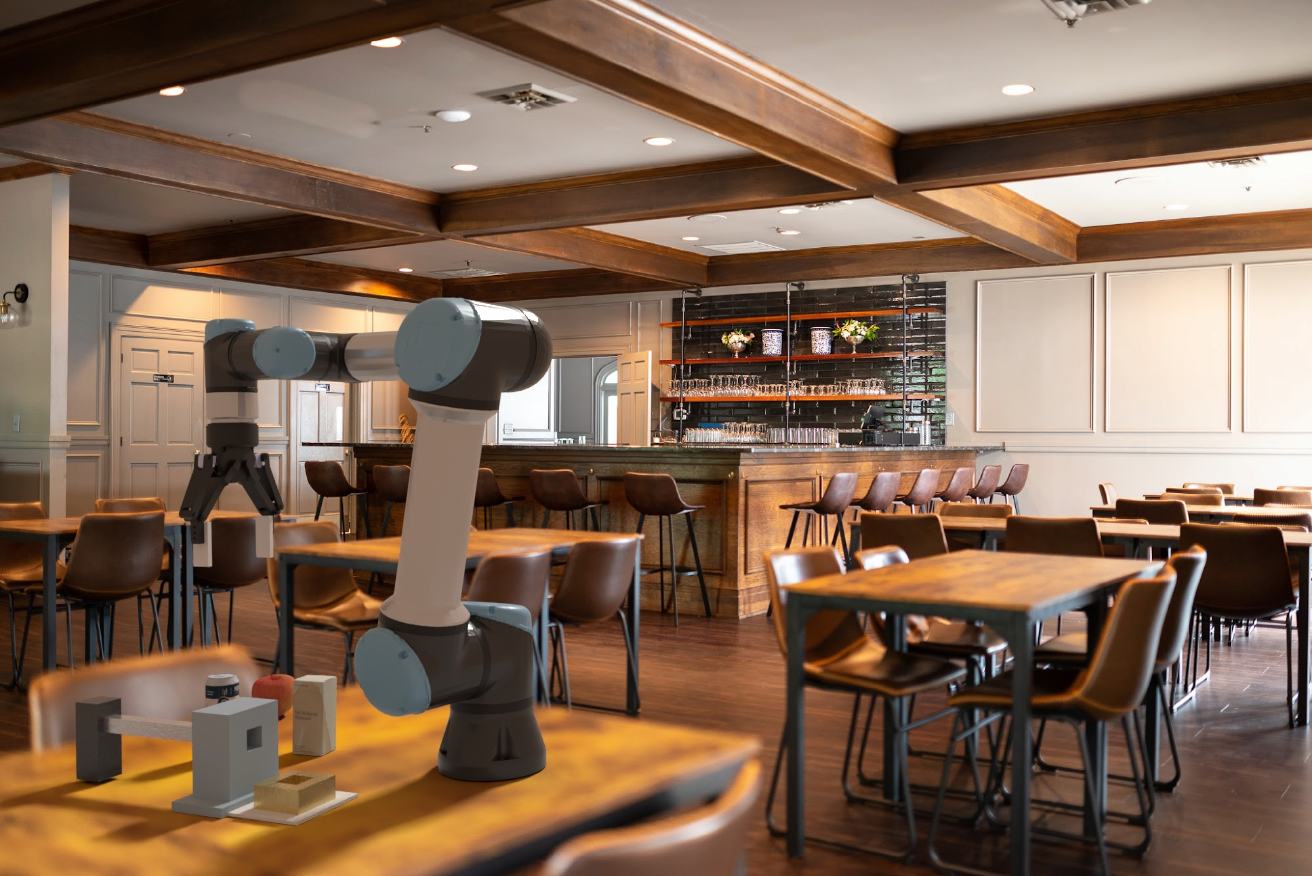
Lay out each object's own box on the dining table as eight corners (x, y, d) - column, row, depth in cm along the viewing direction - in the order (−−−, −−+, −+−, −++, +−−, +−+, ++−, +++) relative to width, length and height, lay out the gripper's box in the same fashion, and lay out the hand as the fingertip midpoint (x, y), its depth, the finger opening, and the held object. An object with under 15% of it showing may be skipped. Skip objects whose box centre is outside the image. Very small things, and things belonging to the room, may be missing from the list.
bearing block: (297, 786, 155) (296, 696, 155) (222, 818, 142) (220, 720, 142) (249, 780, 158) (248, 692, 158) (171, 811, 145) (170, 715, 145)
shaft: (236, 788, 153) (235, 708, 153) (214, 797, 149) (213, 715, 149) (100, 771, 162) (99, 695, 162) (76, 779, 158) (75, 702, 158)
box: (291, 754, 171) (290, 679, 171) (306, 747, 175) (306, 673, 175) (323, 756, 170) (322, 681, 170) (338, 749, 174) (337, 675, 174)
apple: (302, 710, 199) (301, 664, 199) (291, 721, 192) (290, 672, 192) (258, 712, 199) (258, 665, 199) (246, 722, 191) (245, 673, 191)
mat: (358, 796, 151) (358, 793, 151) (296, 825, 139) (296, 822, 139) (289, 788, 155) (289, 785, 155) (224, 815, 144) (224, 812, 144)
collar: (292, 792, 151) (335, 798, 148) (253, 808, 145) (298, 815, 142) (291, 769, 151) (335, 775, 148) (253, 784, 145) (298, 790, 142)
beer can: (228, 762, 167) (227, 679, 167) (198, 761, 168) (197, 678, 168) (246, 753, 172) (245, 672, 172) (217, 752, 173) (216, 671, 173)
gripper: (266, 423, 189) (269, 553, 189) (150, 421, 166) (153, 570, 166) (304, 421, 187) (307, 554, 186) (192, 419, 163) (195, 571, 163)
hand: (234, 562), depth 176 cm, fingers open, 13 cm apart
